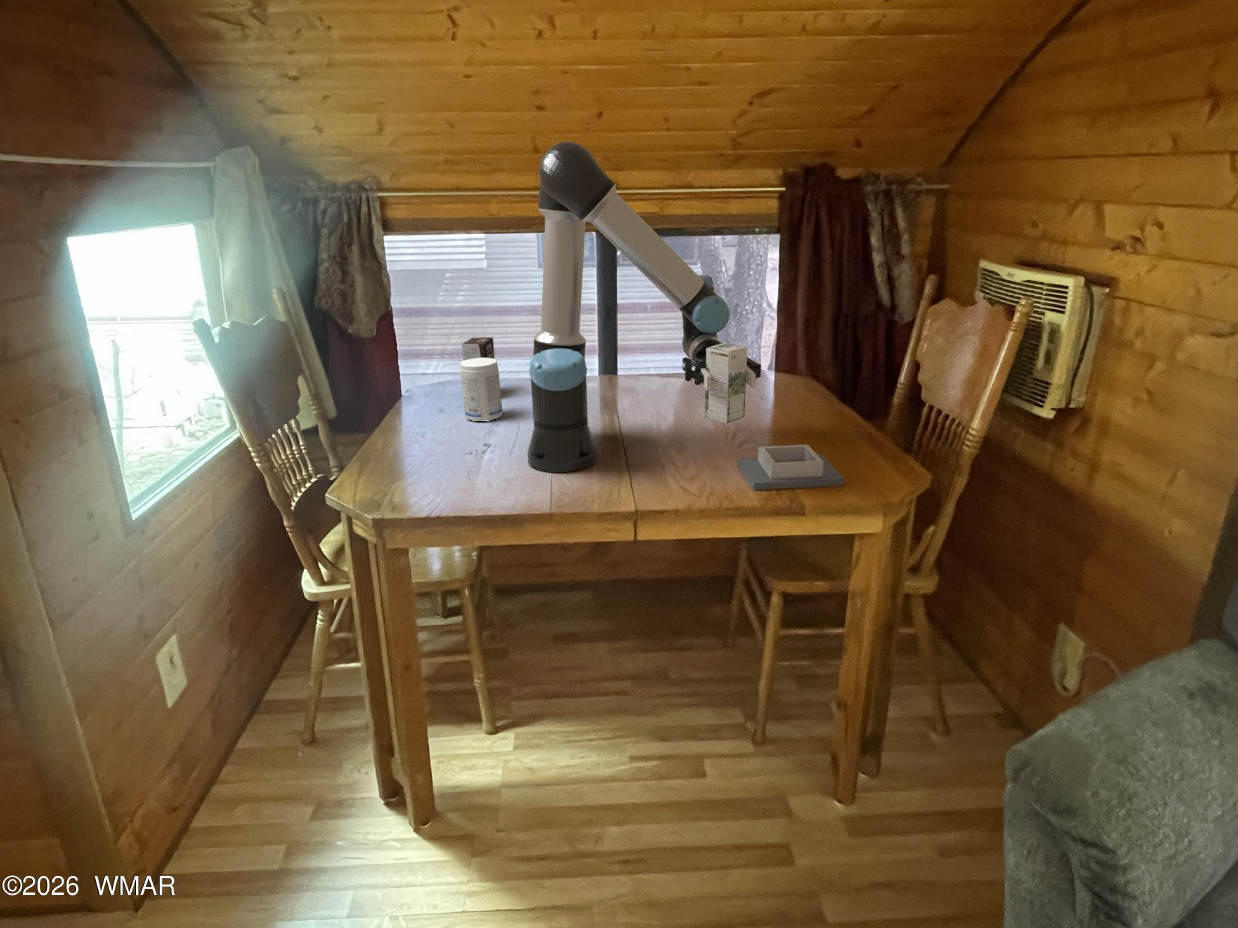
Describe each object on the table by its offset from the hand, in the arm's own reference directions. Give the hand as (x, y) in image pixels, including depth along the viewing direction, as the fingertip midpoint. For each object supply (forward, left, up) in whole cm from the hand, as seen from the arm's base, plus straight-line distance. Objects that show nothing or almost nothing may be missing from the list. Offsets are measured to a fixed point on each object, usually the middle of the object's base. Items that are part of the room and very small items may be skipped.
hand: (731, 382), depth 150 cm
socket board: (+13, +4, -21) cm, 25 cm away
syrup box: (0, +5, -9) cm, 10 cm away
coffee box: (-55, +74, -21) cm, 94 cm away
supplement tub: (-53, +54, -21) cm, 78 cm away
